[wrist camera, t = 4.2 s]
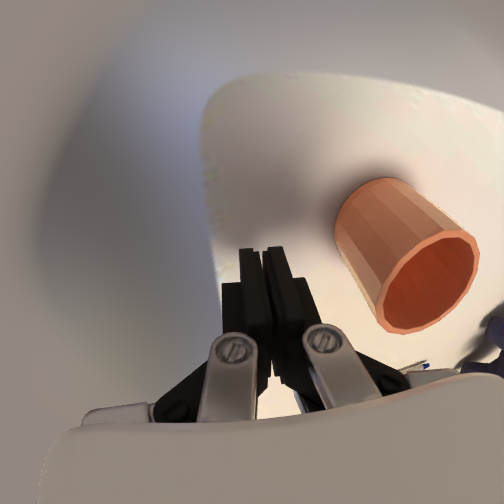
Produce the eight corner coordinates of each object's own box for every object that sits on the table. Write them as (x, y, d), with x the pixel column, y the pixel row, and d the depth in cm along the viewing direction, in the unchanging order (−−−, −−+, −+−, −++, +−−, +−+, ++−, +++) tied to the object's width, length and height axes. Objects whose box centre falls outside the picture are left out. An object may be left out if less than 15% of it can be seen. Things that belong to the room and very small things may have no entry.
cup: (366, 160, 13) (431, 209, 8) (434, 201, 15) (494, 253, 10) (315, 251, 16) (350, 326, 11) (387, 275, 17) (428, 339, 13)
